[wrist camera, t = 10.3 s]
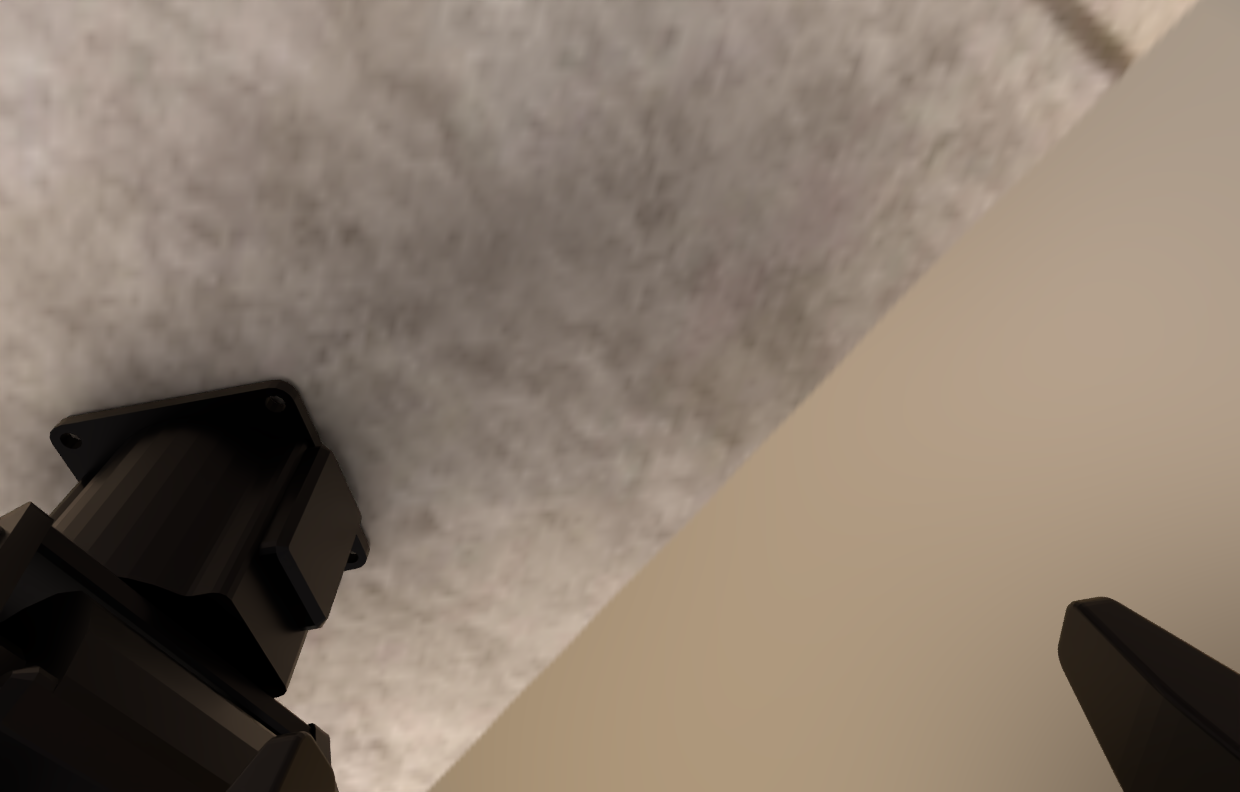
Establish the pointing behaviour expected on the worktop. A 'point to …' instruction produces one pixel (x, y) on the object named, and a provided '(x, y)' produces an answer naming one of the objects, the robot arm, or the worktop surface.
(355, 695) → the worktop surface
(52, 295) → the worktop surface
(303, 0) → the worktop surface
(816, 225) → the worktop surface
